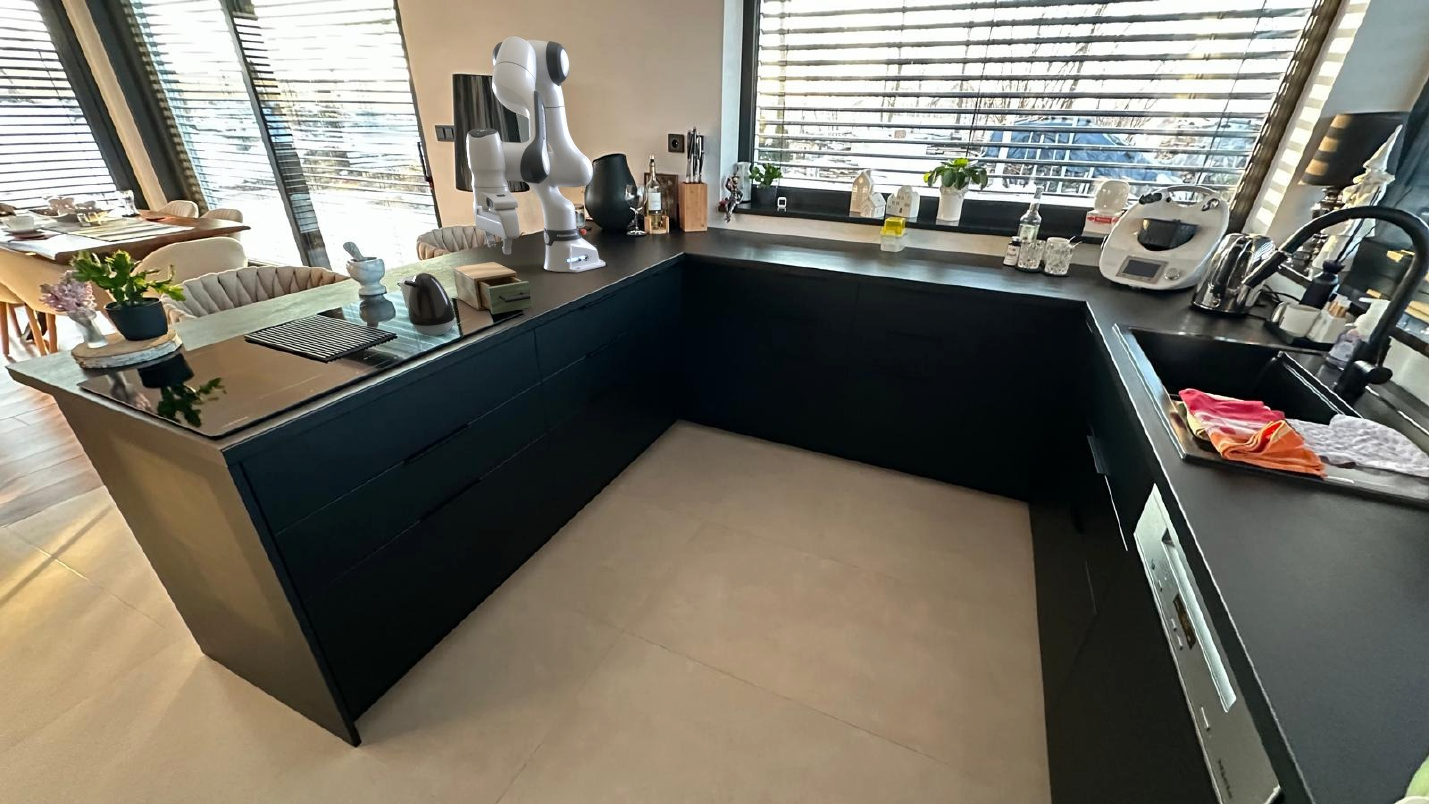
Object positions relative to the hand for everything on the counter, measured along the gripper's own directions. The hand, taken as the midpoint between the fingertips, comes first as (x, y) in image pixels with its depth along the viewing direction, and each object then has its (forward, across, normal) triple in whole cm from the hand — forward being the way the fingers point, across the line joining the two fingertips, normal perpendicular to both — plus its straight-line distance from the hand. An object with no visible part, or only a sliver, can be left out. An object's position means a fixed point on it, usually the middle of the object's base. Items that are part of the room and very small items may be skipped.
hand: (499, 250), depth 152 cm
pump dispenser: (+16, +8, -23) cm, 29 cm away
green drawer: (+16, 0, -1) cm, 16 cm away
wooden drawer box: (+17, -11, -1) cm, 20 cm away
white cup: (+17, -7, -21) cm, 28 cm away
